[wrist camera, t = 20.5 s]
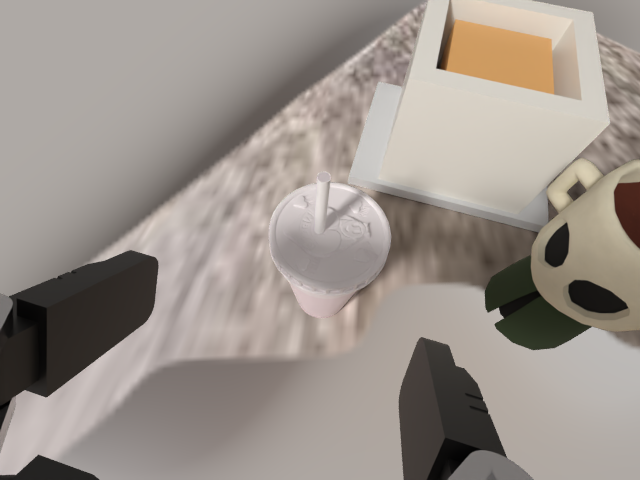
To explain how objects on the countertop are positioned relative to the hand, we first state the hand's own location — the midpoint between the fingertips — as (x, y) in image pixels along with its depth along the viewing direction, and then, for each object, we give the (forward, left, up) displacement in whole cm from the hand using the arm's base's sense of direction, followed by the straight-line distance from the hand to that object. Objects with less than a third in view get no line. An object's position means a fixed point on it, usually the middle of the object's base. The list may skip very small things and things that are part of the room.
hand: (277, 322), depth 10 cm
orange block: (-8, -24, -13) cm, 28 cm away
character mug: (-15, -10, -15) cm, 23 cm away
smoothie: (0, -6, -15) cm, 16 cm away
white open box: (-8, -24, -15) cm, 29 cm away
